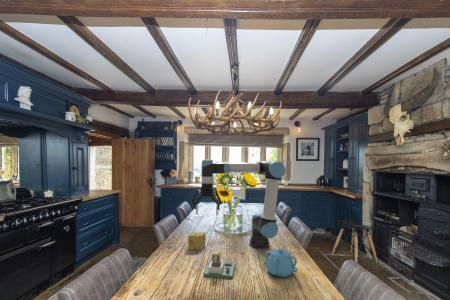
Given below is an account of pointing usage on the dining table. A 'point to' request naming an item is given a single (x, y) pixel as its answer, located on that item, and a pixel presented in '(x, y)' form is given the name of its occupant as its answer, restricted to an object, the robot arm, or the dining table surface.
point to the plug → (216, 258)
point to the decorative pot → (280, 263)
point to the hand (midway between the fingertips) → (206, 214)
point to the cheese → (196, 240)
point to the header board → (220, 270)
